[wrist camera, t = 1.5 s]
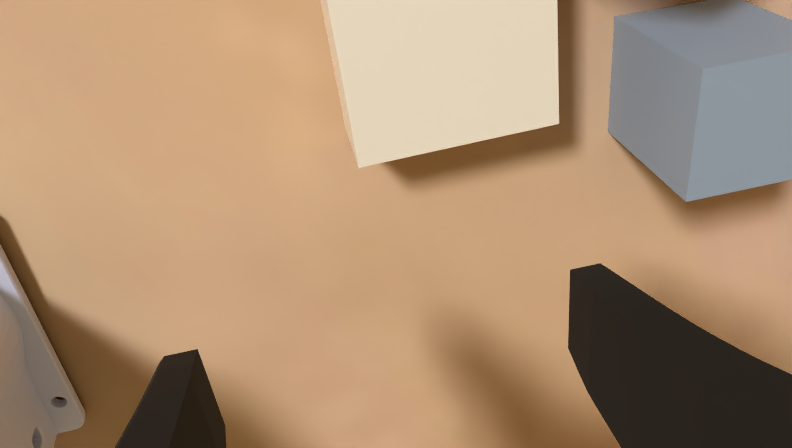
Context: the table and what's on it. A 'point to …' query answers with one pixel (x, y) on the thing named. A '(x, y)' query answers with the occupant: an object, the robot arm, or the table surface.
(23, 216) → the table surface
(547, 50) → the foundation slab
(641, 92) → the blue block
